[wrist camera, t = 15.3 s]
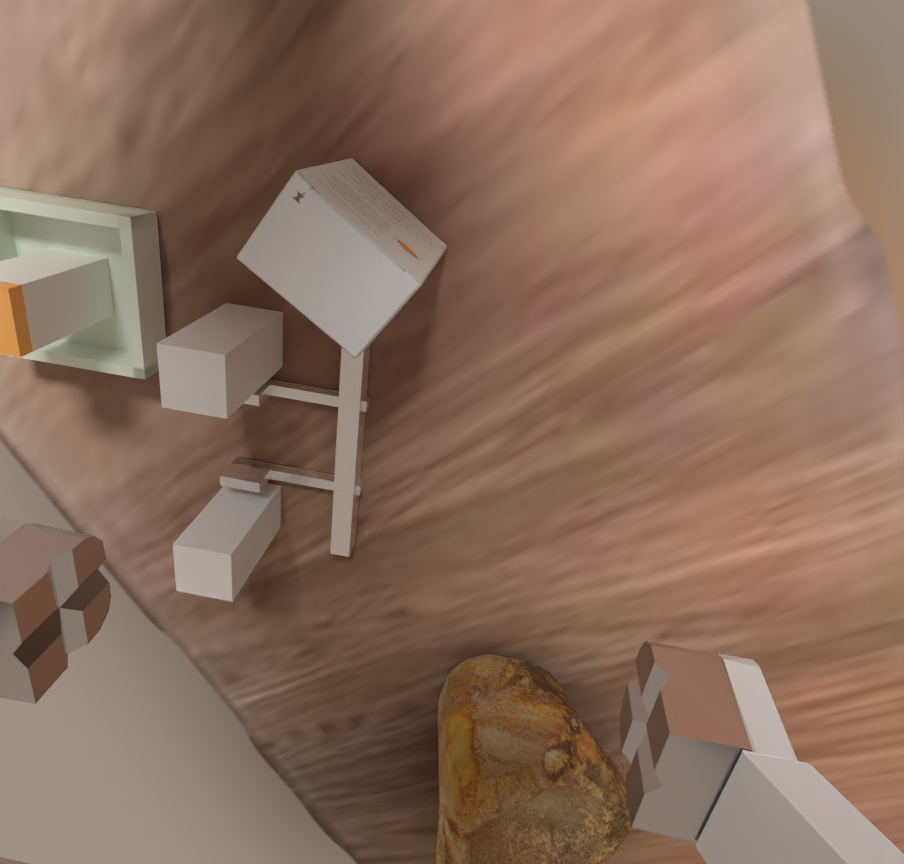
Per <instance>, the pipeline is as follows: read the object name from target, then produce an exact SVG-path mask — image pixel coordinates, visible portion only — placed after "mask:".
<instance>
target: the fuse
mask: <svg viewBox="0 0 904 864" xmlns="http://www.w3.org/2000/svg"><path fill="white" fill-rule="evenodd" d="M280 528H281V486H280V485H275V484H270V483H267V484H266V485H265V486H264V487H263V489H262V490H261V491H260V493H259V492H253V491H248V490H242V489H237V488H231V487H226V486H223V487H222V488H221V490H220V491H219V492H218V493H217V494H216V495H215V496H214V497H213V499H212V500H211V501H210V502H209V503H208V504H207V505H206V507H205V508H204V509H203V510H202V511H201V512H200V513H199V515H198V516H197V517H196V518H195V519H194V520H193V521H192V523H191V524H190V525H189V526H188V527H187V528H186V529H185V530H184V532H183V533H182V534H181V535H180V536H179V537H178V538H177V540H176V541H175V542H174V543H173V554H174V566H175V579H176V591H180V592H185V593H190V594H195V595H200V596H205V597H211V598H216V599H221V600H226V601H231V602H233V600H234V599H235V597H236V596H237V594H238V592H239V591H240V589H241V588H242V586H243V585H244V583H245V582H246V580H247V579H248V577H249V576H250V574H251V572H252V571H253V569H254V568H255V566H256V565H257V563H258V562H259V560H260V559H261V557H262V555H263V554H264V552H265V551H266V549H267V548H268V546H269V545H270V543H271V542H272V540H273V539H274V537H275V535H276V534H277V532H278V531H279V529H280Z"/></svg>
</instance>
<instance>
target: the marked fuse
mask: <svg viewBox="0 0 904 864" xmlns="http://www.w3.org/2000/svg"><path fill="white" fill-rule="evenodd" d="M113 315H114V310H113V301H112V292H111V282H110V273H109V264H108V258H107V257H101V256H95V255H89V254H83V253H77V252H71V251H65V250H59V249H53V248H51V249H47V250H43V251H39V252H35V253H31V254H27V255H23V256H20V257H16V258H12V259H8V260H4V261H0V354H5V355H11V356H16V357H22V356H24V355H27V354H29V353H31V352H33V351H35V350H38V349H40V348H42V347H44V346H47V345H49V344H51V343H53V342H55V341H58V340H60V339H62V338H64V337H67V336H69V335H71V334H73V333H75V332H78V331H80V330H82V329H84V328H87V327H89V326H91V325H93V324H95V323H98V322H100V321H102V320H104V319H106V318H109V317H111V316H113Z"/></svg>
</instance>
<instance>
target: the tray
mask: <svg viewBox="0 0 904 864" xmlns="http://www.w3.org/2000/svg"><path fill="white" fill-rule="evenodd" d="M51 248H53V249H59V250H65V251H71V252H77V253H83V254H89V255H95V256H101V257H107V258H108V264H109V273H110V282H111V292H112V301H113V310H114V315H113V316H111V317H109V318H106V319H104V320H102V321H100V322H98V323H95V324H93V325H91V326H89V327H87V328H84V329H82V330H80V331H78V332H75V333H73V334H71V335H69V336H67V337H64V338H62V339H60V340H58V341H55V342H53V343H51V344H49V345H47V346H44V347H42V348H40V349H38V350H35V351H33V352H31V353H29V354H27V355H24V356H22V357H19V358H25V359H30V360H36V361H42V362H47V363H53V364H59V365H64V366H70V367H76V368H82V369H87V370H93V371H99V372H104V373H110V374H116V375H121V376H127V377H133V378H138V379H144V380H146V379H147V378H149V377H150V376H152V375H153V374H155V373H156V372H158V371H159V368H158V356H157V344H156V343H158V342H160V341H161V340H163V339H165V338H166V330H165V317H164V303H163V290H162V276H161V262H160V249H159V235H158V222H157V211H153V210H147V209H141V208H134V207H128V206H122V205H116V204H109V203H103V202H97V201H91V200H84V199H78V198H72V197H65V196H59V195H53V194H47V193H40V192H34V191H28V190H22V189H15V188H9V187H3V186H0V261H4V260H8V259H12V258H16V257H20V256H23V255H27V254H31V253H35V252H39V251H43V250H47V249H51ZM2 355H5V354H2ZM8 356H11V355H8ZM13 357H16V356H13Z"/></svg>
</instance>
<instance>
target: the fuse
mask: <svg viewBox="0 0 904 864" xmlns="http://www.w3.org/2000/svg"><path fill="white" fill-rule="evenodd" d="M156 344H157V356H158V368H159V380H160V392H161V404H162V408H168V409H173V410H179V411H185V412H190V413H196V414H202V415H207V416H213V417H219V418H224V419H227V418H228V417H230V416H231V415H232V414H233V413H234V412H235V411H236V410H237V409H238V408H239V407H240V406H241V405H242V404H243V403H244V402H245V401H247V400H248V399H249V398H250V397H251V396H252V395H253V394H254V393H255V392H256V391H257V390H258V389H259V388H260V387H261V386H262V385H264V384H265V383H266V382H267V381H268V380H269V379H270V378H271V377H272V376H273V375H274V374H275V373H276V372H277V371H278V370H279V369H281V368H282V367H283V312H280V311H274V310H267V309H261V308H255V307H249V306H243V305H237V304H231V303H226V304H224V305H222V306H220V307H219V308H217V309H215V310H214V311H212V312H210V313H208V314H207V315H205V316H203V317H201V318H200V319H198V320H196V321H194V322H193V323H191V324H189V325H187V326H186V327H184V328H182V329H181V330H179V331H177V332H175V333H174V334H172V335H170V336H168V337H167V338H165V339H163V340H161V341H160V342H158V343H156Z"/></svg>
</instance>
